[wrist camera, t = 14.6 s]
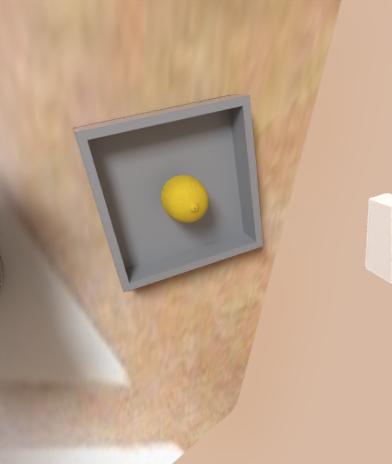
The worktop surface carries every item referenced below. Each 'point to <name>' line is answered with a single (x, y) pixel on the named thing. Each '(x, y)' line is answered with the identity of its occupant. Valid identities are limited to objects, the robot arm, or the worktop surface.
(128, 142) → the box
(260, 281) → the worktop surface
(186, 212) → the lemon
